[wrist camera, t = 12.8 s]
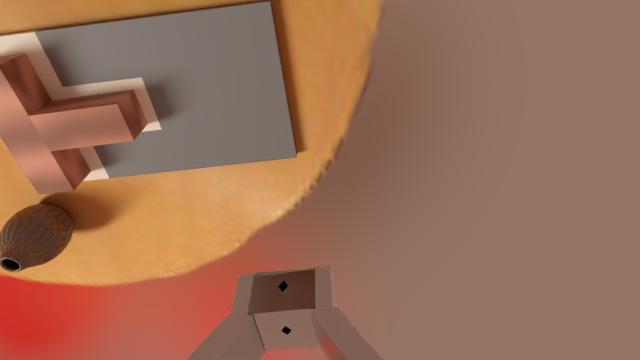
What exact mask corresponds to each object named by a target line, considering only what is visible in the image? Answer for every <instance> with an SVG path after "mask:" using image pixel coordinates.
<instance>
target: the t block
mask: <svg viewBox="0 0 640 360" xmlns="http://www.w3.org/2000/svg"><path fill="white" fill-rule="evenodd" d="M147 125H148V123H147V120H146V118H145V116H144V113H143V111H142V108H141V106H140V104H139V101H138V99H137V97H136V94H135V92H134V90H127V91H119V92H112V93H105V94H97V95H90V96H82V97H75V98H68V99H60V100H53V101H52V99H51V98H50V96H49V94H48V92H47V90H46V89H45V87H44V85H43V83H42V81H41V80H40V78H39V76H38V74H37V72H36V71H35V69H34V67H33V65H32V63H31V62H30V60H29V58H28V56H27V54H26V53H24V54H17V55H10V56H3V57H0V137H1V138H2V140H3V141H4V143H5V144H6V146H7V147H8V149H9V150H10V152H11V153H12V155H13V156H14V158H15V159H16V161H17V162H18V164H19V165H20V166H21V168H22V169H23V171H24V172H25V174H26V175H27V177H28V178H29V180H30V181H31V183H32V184H33V186H34V187H35V189H36V190H37V192H38V193H39V195H41V194H49V193H57V192H65V191H73V190H75V189H76V187H77V186H78V185H79V184H80V183H81V182H82V181H83V180H84V179H85V178H86V177H87V175H88V174H89V173H90V172H91V170H90V168H89V166H88V164H87V162H86V161H85V159H84V157H83V155H82V153H81V152H80V150H79V148H81V147H88V146H96V145H104V144H112V143H120V142H127V141H134V140H135V139H136V138H137V136H138V135H139V134H140V133H141V132H142V130H143V129H144V128H145V127H146V126H147Z"/></svg>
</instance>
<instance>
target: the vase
mask: <svg viewBox="0 0 640 360" xmlns="http://www.w3.org/2000/svg"><path fill="white" fill-rule="evenodd" d="M72 233H73V224H72V220H71V218H70V217H69V215H68V214H67V213H66V212H65V211H64V210H63V209H61V208H59V207H57V206H54V205H49V204H37V205H32V206H29V207H27V208H24V209H22V210H21V211H19V212H17V213H16V214H15V215H13V216H12V217H11V218H10V219H9V220H8V221H7V222H6V224H5V225H4V227H3V229H2V231H1V233H0V266H1V267H2V268H3V269H5V270H7V271H10V272H19V271H21V270H23V269H25V268H29V267H33V266H38V265H42V264H44V263H47V262H49V261H51V260H52V259H54V258H55V257H57V256H58V255H59V254H60V253H61V252H62V251H63V250H64V249H65V248H66V246H67V245H68V243H69V242H70V239H71V237H72Z"/></svg>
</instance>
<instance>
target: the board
mask: <svg viewBox="0 0 640 360" xmlns="http://www.w3.org/2000/svg"><path fill="white" fill-rule="evenodd" d="M24 53H26V54H27V56H28V58H29V60H30V62H31V63H32V65H33V67H34V69H35V71H36V72H37V74H38V76H39V78H40V80H41V81H42V83H43V85H44V87H45V89H46V90H47V92H48V94H49V96H50V98H51V99H52V101H53V100H60V99H68V98H75V97H82V96H90V95H97V94H105V93H112V92H119V91H127V90H134V92H135V94H136V97H137V99H138V101H139V104H140V106H141V108H142V111H143V113H144V116H145V118H146V120H147V123H148V125H147V126H146V127H145V128H144V129H143V130H142V132H141V133H140V134H139V135H138V136H137V138H136V139H135V140H134V141H127V142H120V143H112V144H104V145H96V146H88V147H81V148H79V150H80V152H81V153H82V155H83V157H84V159H85V161H86V162H87V164H88V166H89V168H90V170H91V172H90V173H89V174H88V175H87V177H86V178H85V179H84V180H83V181H88V180H97V179H106V178H115V177H124V176H133V175H142V174H151V173H160V172H169V171H178V170H188V169H197V168H206V167H215V166H224V165H233V164H242V163H251V162H260V161H269V160H278V159H287V158H296V157H297V151H296V145H295V140H294V134H293V128H292V122H291V116H290V110H289V104H288V98H287V93H286V87H285V81H284V75H283V69H282V63H281V57H280V52H279V46H278V40H277V34H276V28H275V22H274V16H273V10H272V5H271V0H267V1H259V2H252V3H244V4H236V5H229V6H221V7H213V8H205V9H198V10H190V11H182V12H175V13H167V14H159V15H151V16H144V17H136V18H128V19H121V20H113V21H105V22H97V23H90V24H82V25H74V26H67V27H59V28H51V29H43V30H36V31H28V32H20V33H13V34H5V35H0V57H3V56H10V55H17V54H24Z"/></svg>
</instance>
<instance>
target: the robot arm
mask: <svg viewBox="0 0 640 360" xmlns="http://www.w3.org/2000/svg"><path fill="white" fill-rule="evenodd" d="M314 346H317V347H318V349H319V350H320V352H321V353H322V355H323V357H324V358H325V360H382V358H381V357H380V356H379V355H378V354H377V352H376V351H375V350H374V349H373V348H372V347H371V346H370V344H369V343H368V342H367V341H366V340H365V338H364V337H363V336H362V335H361V334H360V333H359V331H358V330H357V329H356V328H355V327H354V326H353V324H352V323H351V322H350V321H349V320H348V318H347V317H346V316H345V315H344V314H343V313H342V311H341V310H340V309H339V308H338V307H336V301H335V293H334V285H333V278H332V270H331V266H323V267H313V268H303V269H294V270H286V271H275V272H261V273H251V274H241V275H240V276H239V278H238V282H237V286H236V291H235V295H234V300H233V305H232V309H231V314H230V317H225V318H224V319H223V321H222V322H221V323H220V324H219V325H218V326H217V327H216V328H215V329H214V330H213V332H212V333H211V334H210V335H209V336H208V337H207V338H206V339H205V340H204V341H203V342H202V344H201V345H200V346H199V347H198V348H197V349H196V350H195V351H194V352H193V354H192V355H191V356H190V357H189V358H188V359H187V360H261V358H262V356H263V355H264V353H265V351H268V350H276V349H285V348H297V347H314Z"/></svg>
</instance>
